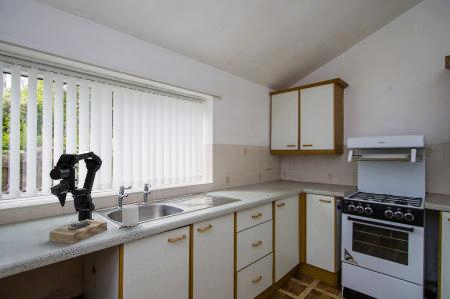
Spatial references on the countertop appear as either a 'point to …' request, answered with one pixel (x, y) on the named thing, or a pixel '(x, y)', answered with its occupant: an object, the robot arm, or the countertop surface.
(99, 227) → the chassis board
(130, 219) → the mug
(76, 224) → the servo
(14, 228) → the countertop surface
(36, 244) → the countertop surface
